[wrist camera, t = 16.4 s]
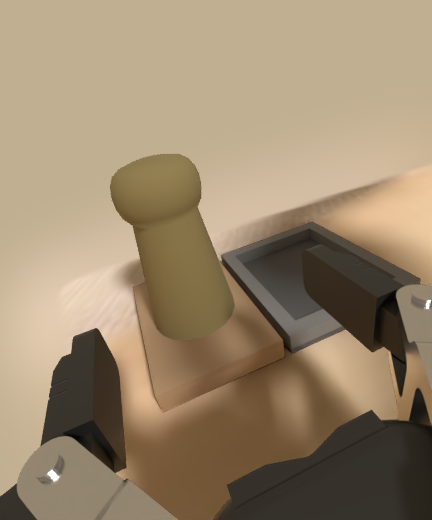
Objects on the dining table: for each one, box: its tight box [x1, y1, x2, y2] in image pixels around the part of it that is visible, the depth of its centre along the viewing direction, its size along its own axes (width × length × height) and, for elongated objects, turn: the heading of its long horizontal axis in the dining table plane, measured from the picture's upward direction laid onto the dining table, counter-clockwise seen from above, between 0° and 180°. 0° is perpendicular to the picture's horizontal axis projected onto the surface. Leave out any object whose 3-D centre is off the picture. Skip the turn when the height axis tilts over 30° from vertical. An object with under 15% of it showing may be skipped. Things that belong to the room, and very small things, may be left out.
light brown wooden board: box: [133, 261, 285, 412], centre depth 23 cm, size 8×12×2 cm, turn 20°
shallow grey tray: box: [221, 222, 420, 353], centre depth 25 cm, size 10×12×2 cm
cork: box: [110, 154, 235, 340], centre depth 19 cm, size 6×6×11 cm
